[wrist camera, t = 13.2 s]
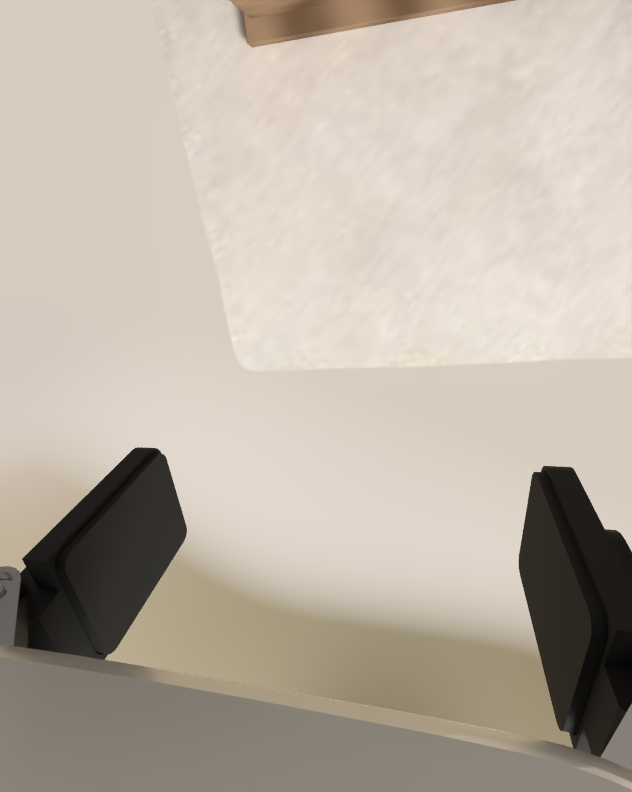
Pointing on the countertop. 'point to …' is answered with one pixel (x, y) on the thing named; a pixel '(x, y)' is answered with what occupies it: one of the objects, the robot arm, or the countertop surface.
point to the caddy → (334, 15)
